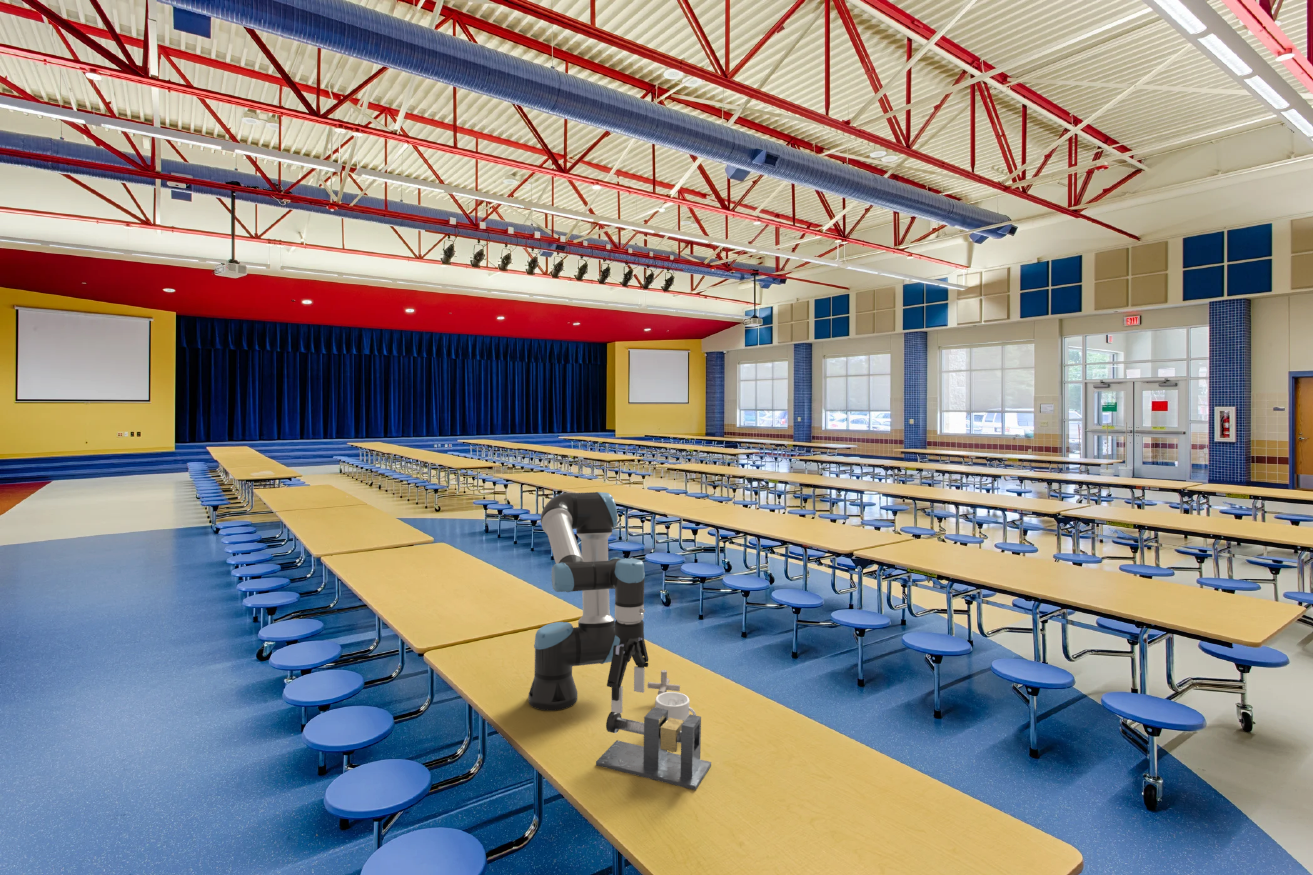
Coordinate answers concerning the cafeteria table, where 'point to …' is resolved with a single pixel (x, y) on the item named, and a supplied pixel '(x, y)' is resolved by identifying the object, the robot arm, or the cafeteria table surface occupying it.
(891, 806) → the cafeteria table surface
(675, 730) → the spacer
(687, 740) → the bearing block
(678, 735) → the shaft
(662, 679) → the pipe connector
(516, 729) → the cafeteria table surface
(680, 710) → the mug
